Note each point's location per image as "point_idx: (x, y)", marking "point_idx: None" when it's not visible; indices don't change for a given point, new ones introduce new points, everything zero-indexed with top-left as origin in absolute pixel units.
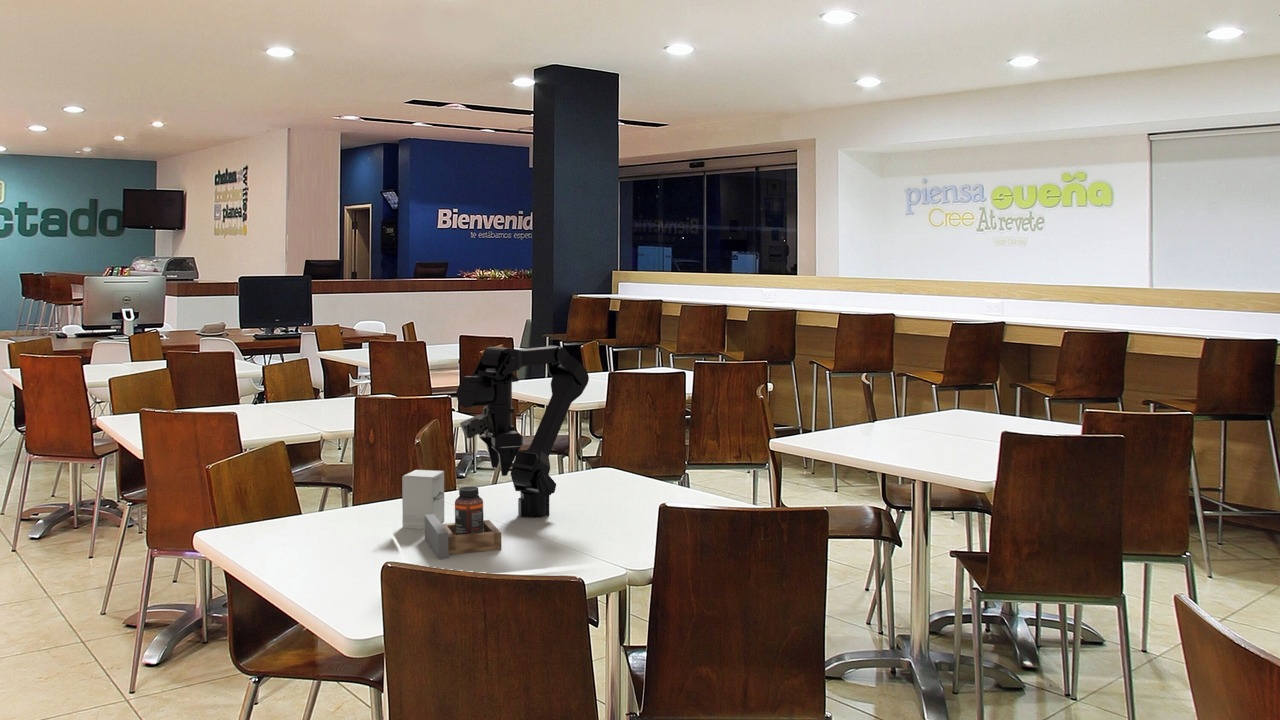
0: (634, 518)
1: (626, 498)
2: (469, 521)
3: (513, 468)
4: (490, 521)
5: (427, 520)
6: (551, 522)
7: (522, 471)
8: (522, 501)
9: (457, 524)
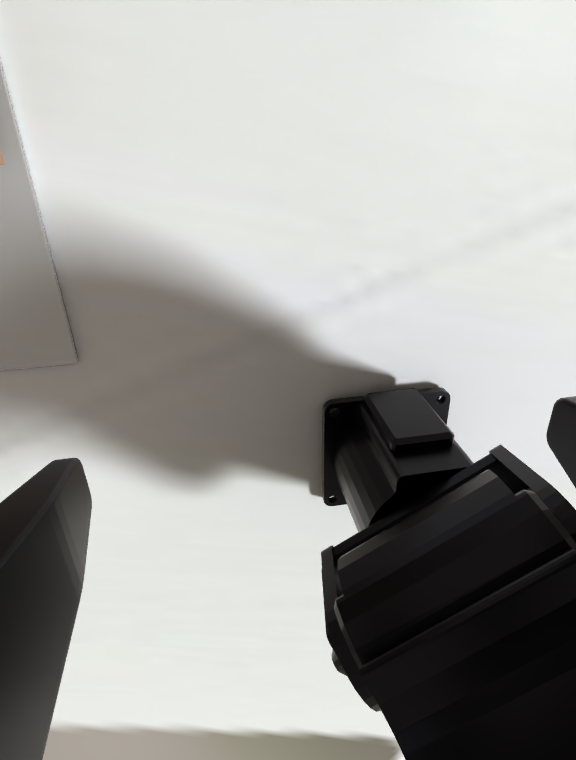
0: (252, 707)
1: None
2: None
3: (549, 549)
4: None
5: None
6: (285, 493)
7: (443, 593)
8: (389, 444)
9: None
